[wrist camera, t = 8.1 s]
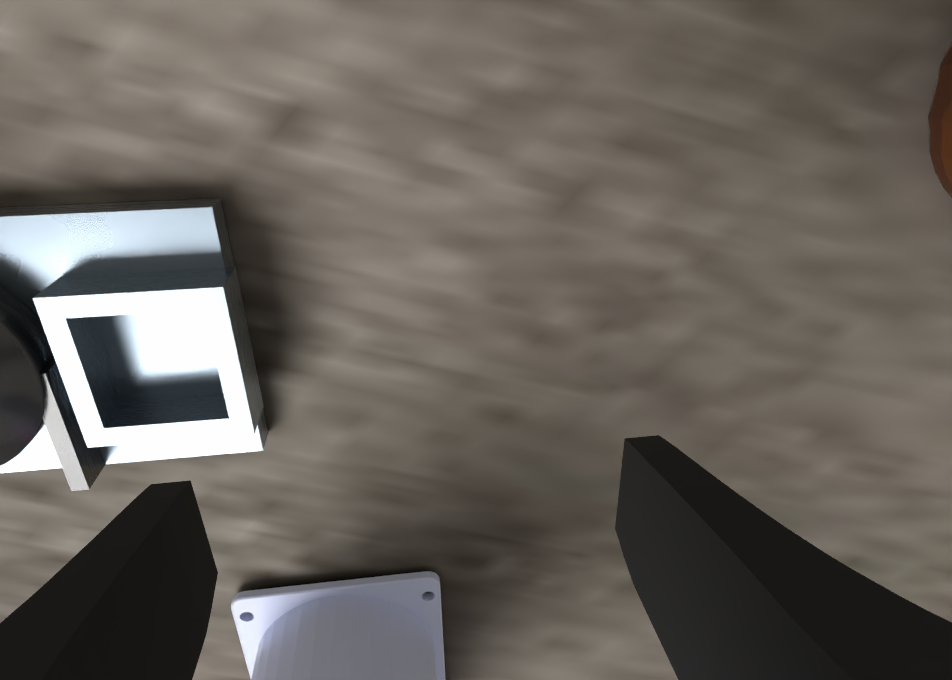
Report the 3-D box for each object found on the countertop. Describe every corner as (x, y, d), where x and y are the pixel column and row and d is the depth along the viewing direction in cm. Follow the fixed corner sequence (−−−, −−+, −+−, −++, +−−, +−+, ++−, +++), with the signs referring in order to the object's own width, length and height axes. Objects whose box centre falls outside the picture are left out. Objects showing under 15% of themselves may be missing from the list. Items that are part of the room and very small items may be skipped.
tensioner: (277, 431, 21) (264, 479, 19) (-91, 462, 20) (-151, 517, 18) (232, 197, 17) (209, 222, 15) (-222, 217, 16) (-318, 247, 14)
